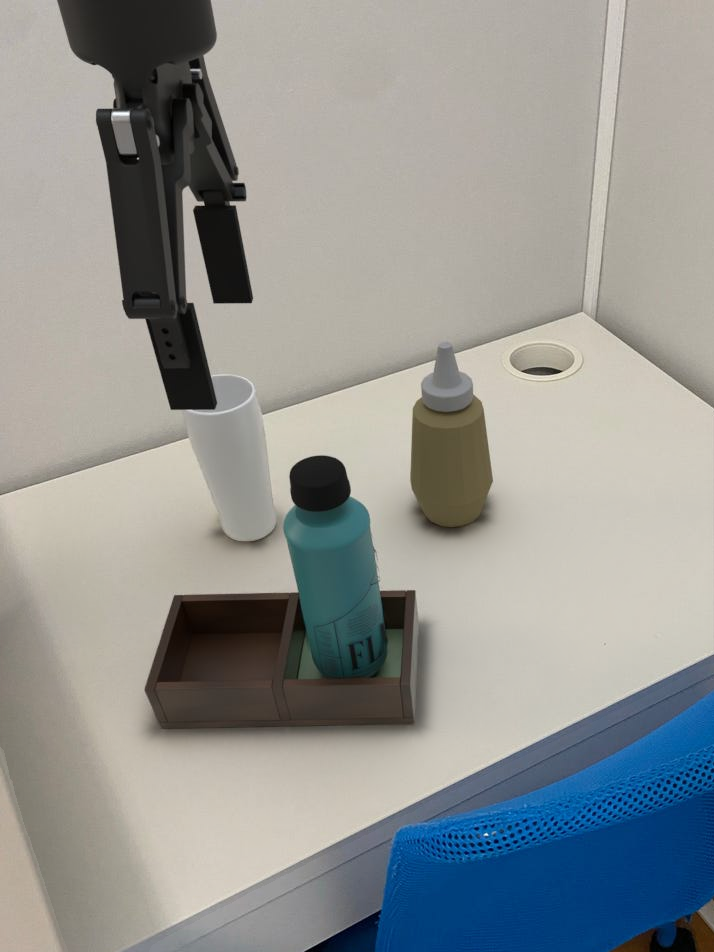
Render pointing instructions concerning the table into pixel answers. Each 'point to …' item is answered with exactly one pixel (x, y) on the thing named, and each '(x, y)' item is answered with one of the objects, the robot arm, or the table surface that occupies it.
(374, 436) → the table surface
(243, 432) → the drinking glass
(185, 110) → the robot arm
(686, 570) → the table surface
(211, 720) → the divided box
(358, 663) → the beverage bottle
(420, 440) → the squeeze bottle
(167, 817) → the table surface
